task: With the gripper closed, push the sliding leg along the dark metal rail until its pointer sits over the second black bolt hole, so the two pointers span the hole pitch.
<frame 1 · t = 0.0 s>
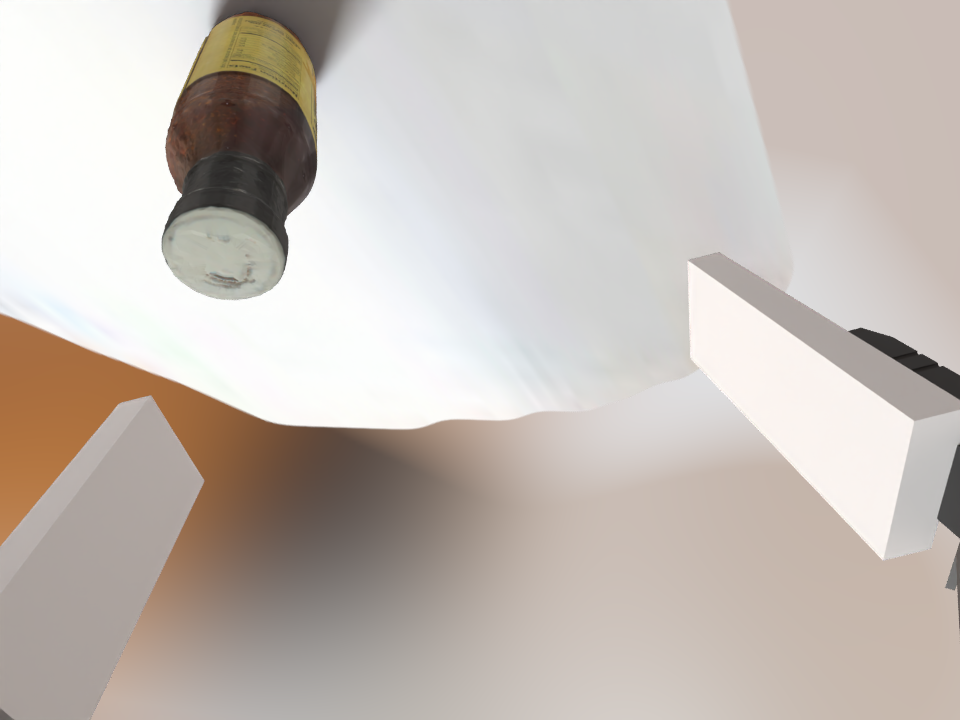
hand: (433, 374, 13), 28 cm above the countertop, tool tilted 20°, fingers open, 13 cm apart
sauce bottle: (264, 62, 33), on the countertop
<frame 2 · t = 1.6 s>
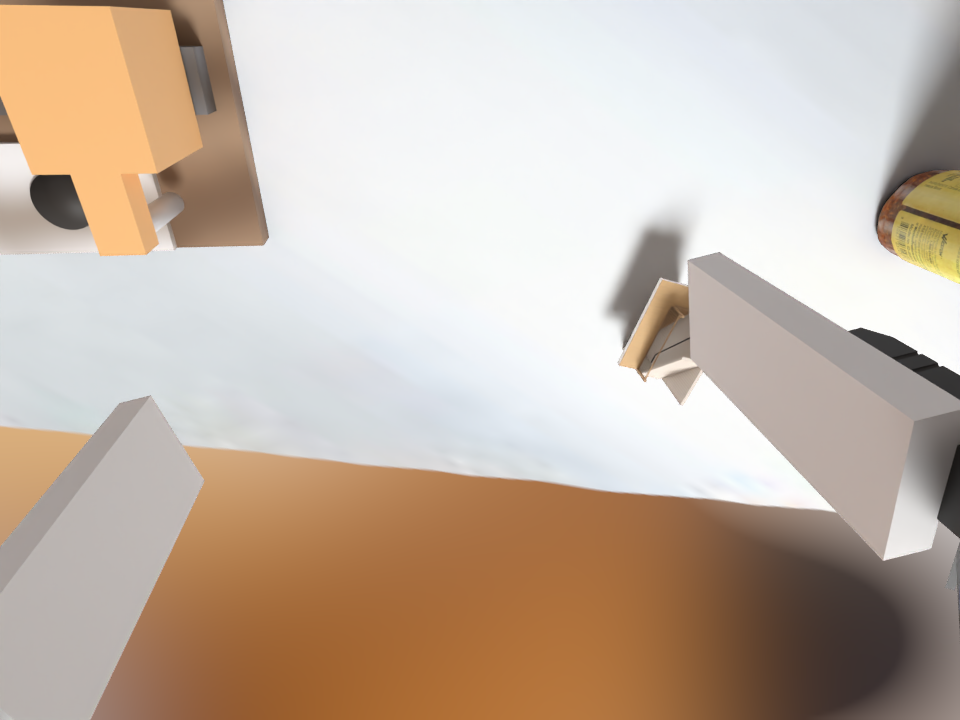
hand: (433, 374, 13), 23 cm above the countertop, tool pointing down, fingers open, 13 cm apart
architectural model: (645, 315, 41), on the countertop
sauce bottle: (914, 207, 38), on the countertop
sliding leg: (120, 131, 25), point 6 cm above the countertop, slide at 6.0 cm
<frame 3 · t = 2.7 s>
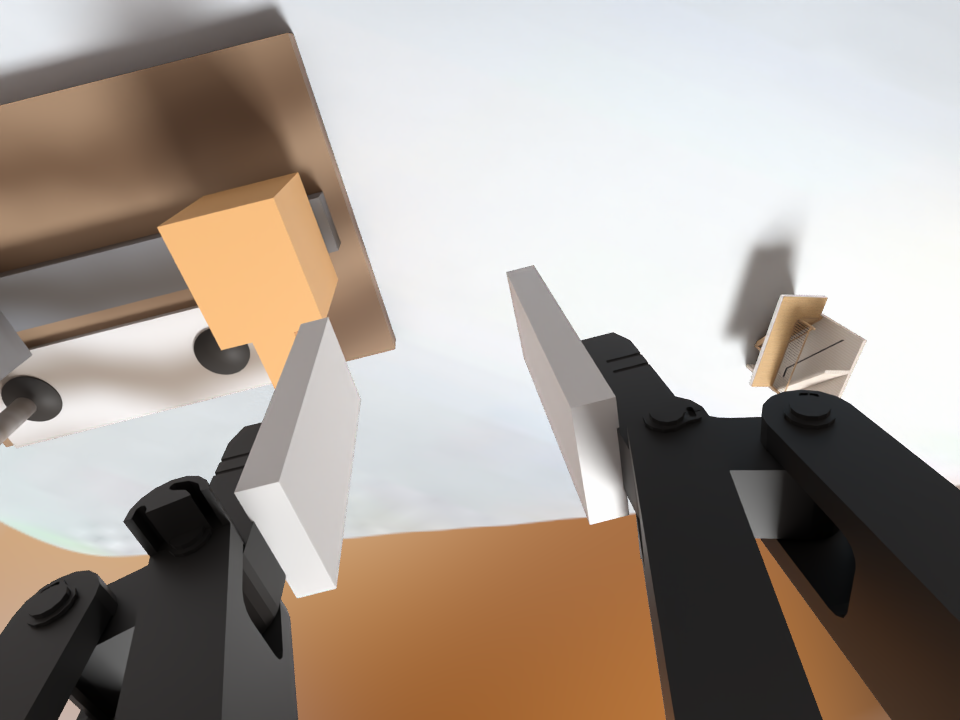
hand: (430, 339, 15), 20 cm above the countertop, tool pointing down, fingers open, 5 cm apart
brown board with bar: (138, 261, 32), on the countertop
architectural model: (763, 328, 41), on the countertop
sliding leg: (276, 288, 28), point 6 cm above the countertop, slide at 6.0 cm
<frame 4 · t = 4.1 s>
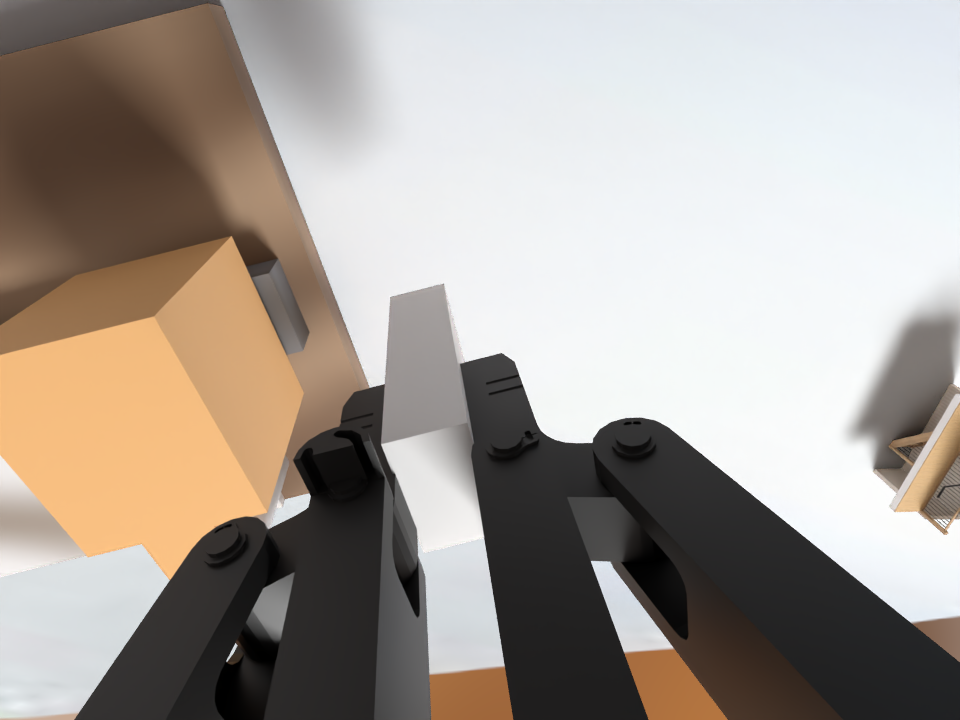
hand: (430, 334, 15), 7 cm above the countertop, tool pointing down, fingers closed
brown board with bar: (3, 356, 21), on the countertop
architectural model: (900, 422, 30), on the countertop
sliding leg: (196, 428, 17), point 6 cm above the countertop, slide at 6.0 cm
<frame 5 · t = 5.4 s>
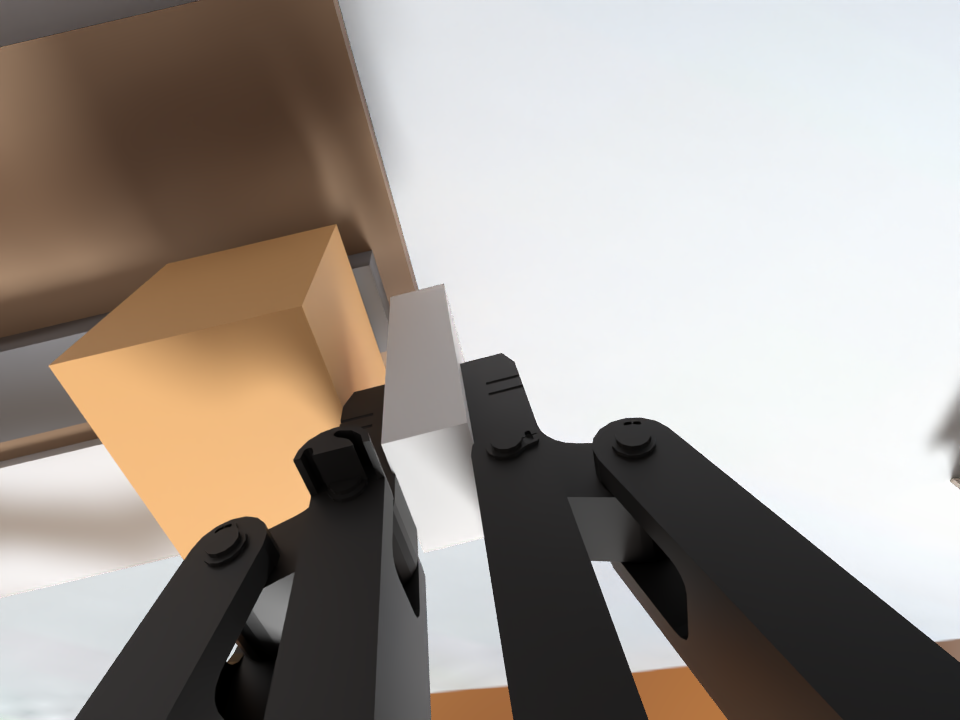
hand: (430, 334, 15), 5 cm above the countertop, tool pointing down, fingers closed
brown board with bar: (67, 351, 20), on the countertop
sliding leg: (295, 431, 16), point 6 cm above the countertop, slide at 6.0 cm, touching gripper
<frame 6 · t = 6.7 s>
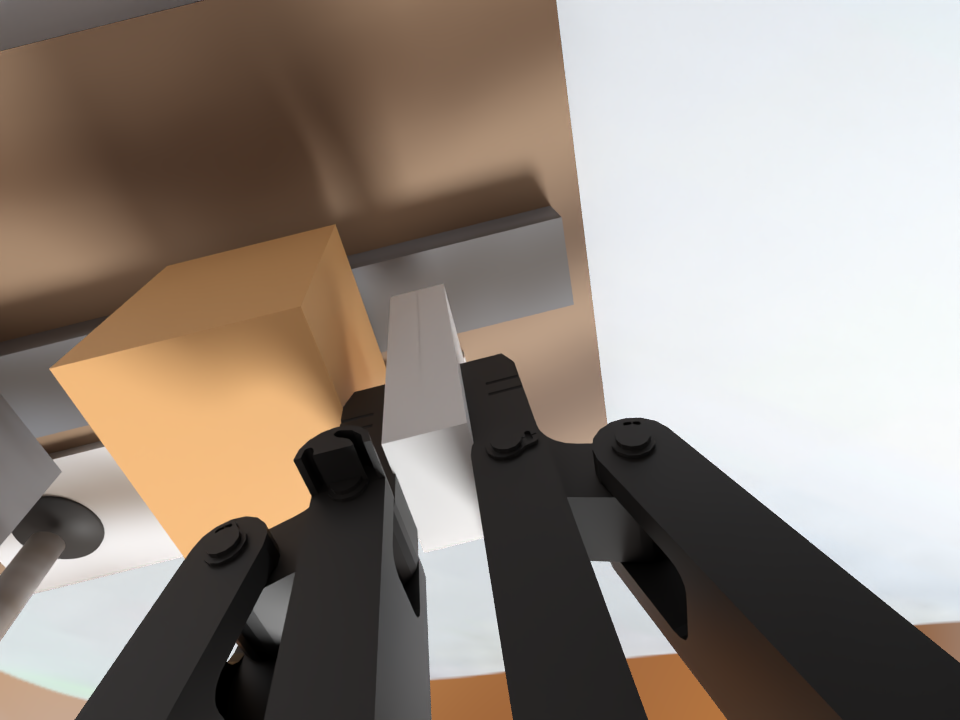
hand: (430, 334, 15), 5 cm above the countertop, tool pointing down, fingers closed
brown board with bar: (230, 314, 20), on the countertop
sliding leg: (297, 431, 16), point 6 cm above the countertop, slide at -0.1 cm, touching gripper
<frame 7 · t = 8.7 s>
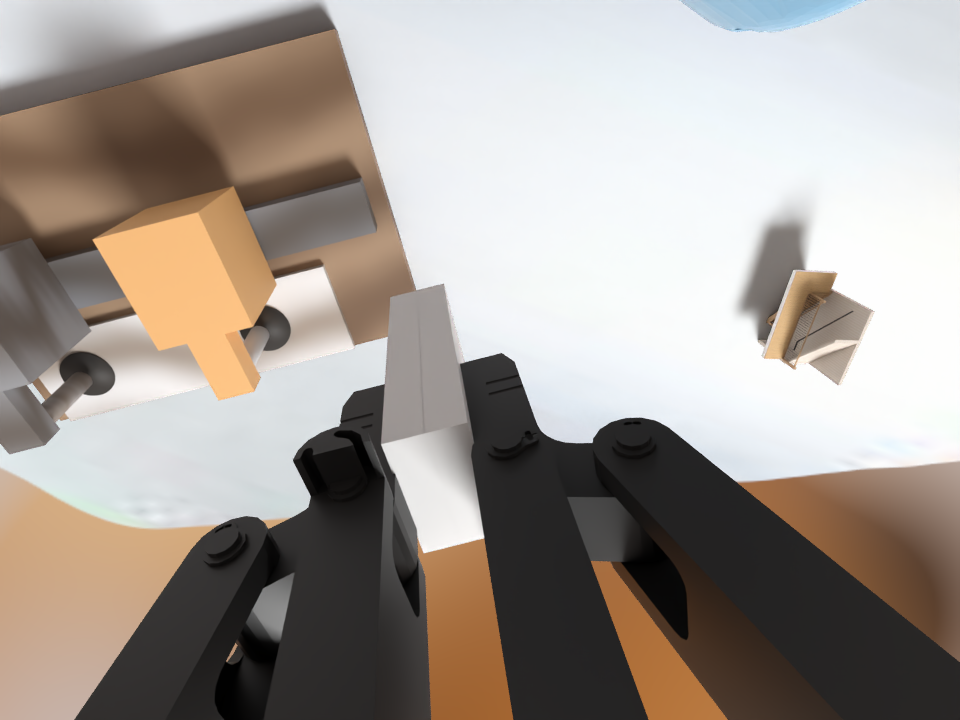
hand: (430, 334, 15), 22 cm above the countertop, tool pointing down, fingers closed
brown board with bar: (187, 243, 35), on the countertop
architectural model: (775, 305, 43), on the countertop
sliding leg: (214, 294, 30), point 6 cm above the countertop, slide at -0.2 cm
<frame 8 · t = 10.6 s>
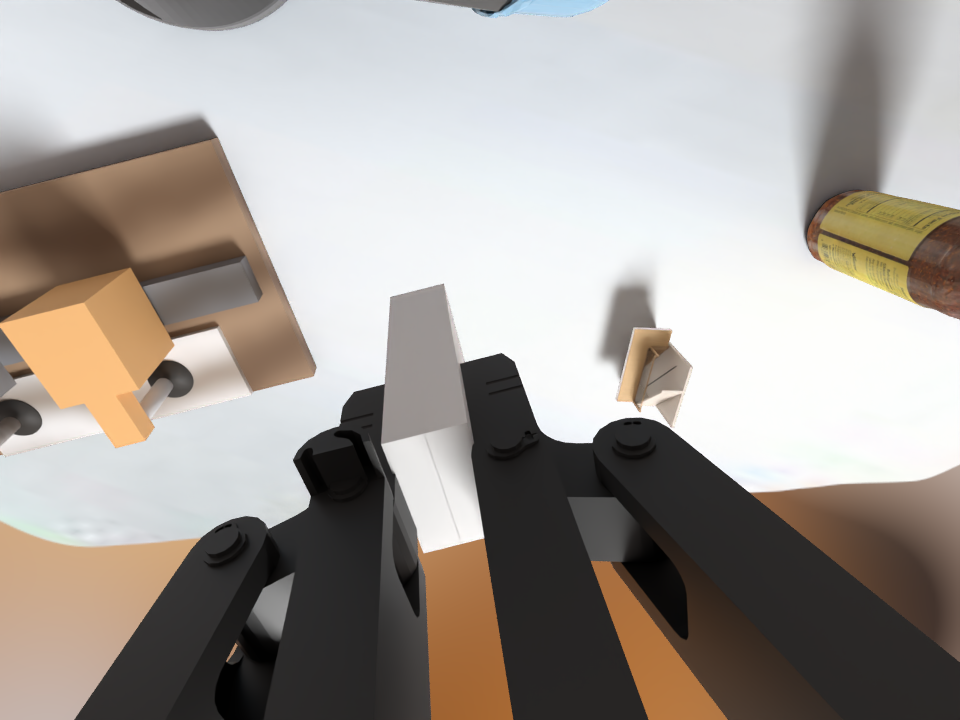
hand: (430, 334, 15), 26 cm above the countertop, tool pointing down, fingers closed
brown board with bar: (101, 307, 40), on the countertop
architectural model: (634, 353, 49), on the countertop
sauce bottle: (838, 222, 44), on the countertop
sliding leg: (113, 358, 36), point 6 cm above the countertop, slide at -0.2 cm
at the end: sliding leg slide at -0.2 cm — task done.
